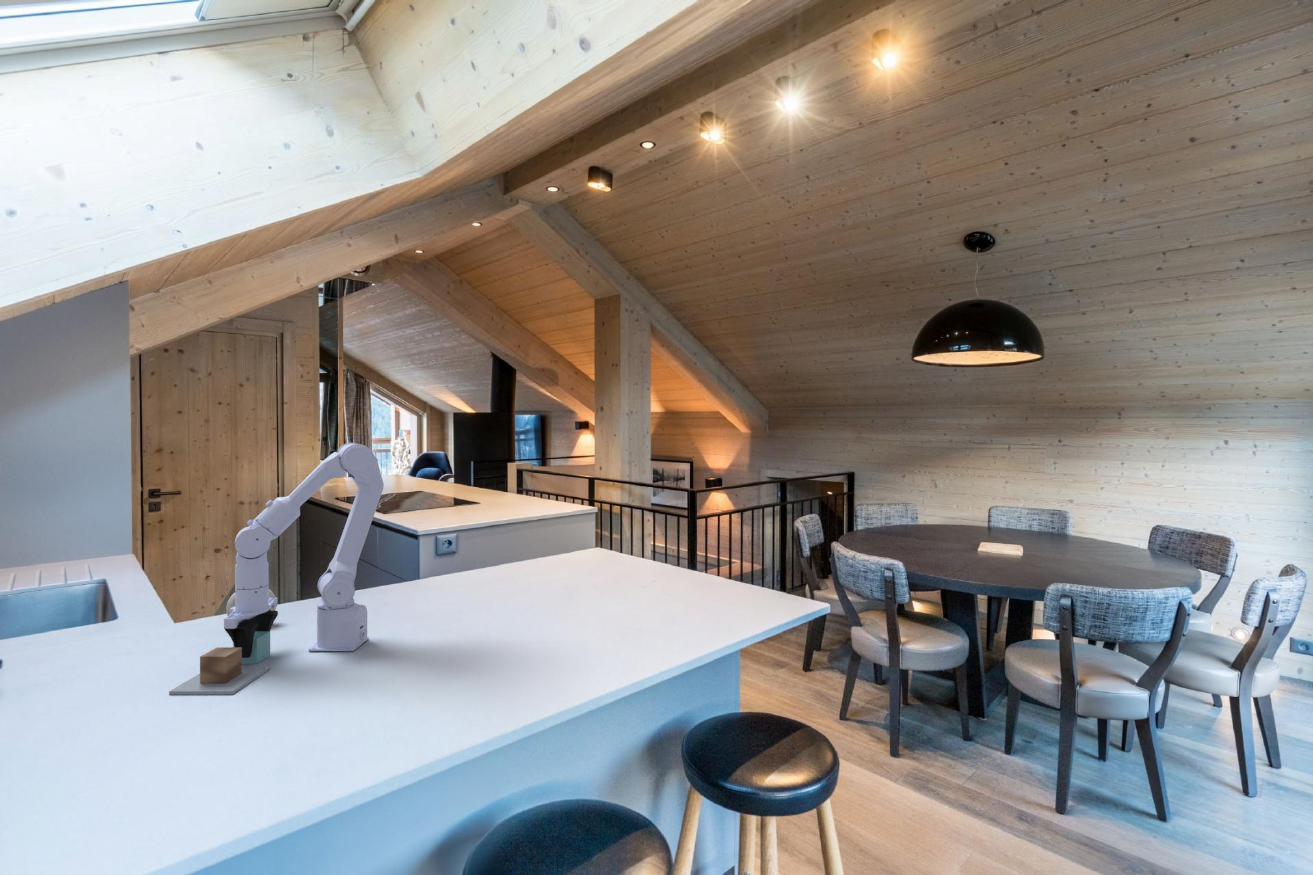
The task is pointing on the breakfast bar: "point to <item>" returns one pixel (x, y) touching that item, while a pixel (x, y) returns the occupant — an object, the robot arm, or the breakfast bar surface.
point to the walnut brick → (220, 665)
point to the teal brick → (259, 648)
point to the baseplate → (219, 689)
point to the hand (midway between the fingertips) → (252, 652)
